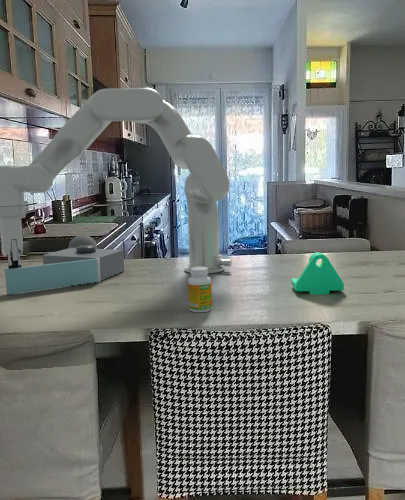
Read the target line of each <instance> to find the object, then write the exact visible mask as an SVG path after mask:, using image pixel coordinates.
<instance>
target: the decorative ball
mask: <svg viewBox="0 0 405 500" xmlns="http://www.w3.org/2000/svg"><path fill="white" fill-rule="evenodd" d="M84 245H94V246H96V249H98V245H97V242H96V241H95V239H94V238H92V237H91V236H89V235H86V234H79V235H76V236H74V237H73V238H72V239H71V240H70V241H69V244H68V248H76V247H78V246H84ZM68 248H67V249H68Z"/></svg>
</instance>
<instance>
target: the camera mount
mask: <svg viewBox="0 0 405 500" xmlns="http://www.w3.org/2000/svg"><path fill="white" fill-rule="evenodd" d="M318 260H321V262H320V263H319V264H317V262H318ZM291 286H292V288H293V289H294V291H295V292H308V293H309V294H310V295H329V294H330V291H345V283H344V282H343V280H342V279H341V277H340V275H339V274H338V272H337V270H336V269H335V268H334V265H332V262H331V261H330V260H329V258H328V257H327V256H326V255H325V254H324V253H322V252H318V251H317V252H314V253H311V255H310V256H309V258H308V263H307V265H306V266H305V268H303V270H302V272H301V273H300V275H299V276H298V278H297V277H295V278H291Z"/></svg>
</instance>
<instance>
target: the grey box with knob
mask: <svg viewBox="0 0 405 500" xmlns="http://www.w3.org/2000/svg"><path fill="white" fill-rule="evenodd" d="M96 258H99V261H100V276H101V280H102V279H104V278H107V277H110V276H112V275H115V274H117V273H120V272H122V273H124V272H125V260H124V250H123V249H110V248H109V249H108V248H107V249H106V248H105V249H104V248H97V249H96V246H94V245H84V246H78V247H76V248H65V249H62V250H57V251H54V252H50V253H46V254H42V265H46V264H55V263H63V262H72V261H80V260H89V259H96ZM123 271H124V272H123ZM120 274H121V273H120ZM117 275H118V274H117ZM115 276H116V275H115ZM112 277H113V276H112ZM110 278H111V277H110ZM107 279H108V278H107ZM102 281H103V280H102Z"/></svg>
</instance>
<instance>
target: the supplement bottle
mask: <svg viewBox="0 0 405 500" xmlns="http://www.w3.org/2000/svg"><path fill="white" fill-rule="evenodd" d="M189 274H190V275H191V276H190V277H188V279H187V296H188V297H187V299H188V300H187V301H188V302H187V304H188V310H189V311H190V312H192V313H207V312H210V311H211V310H212V309H213V299H212V297H213V295H212V294H213V293H212V292H213V291H212V290H213V289H212V278H211V277H210V276H208V275H209V274H208V268H207V267H192V268H190V273H189Z"/></svg>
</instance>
